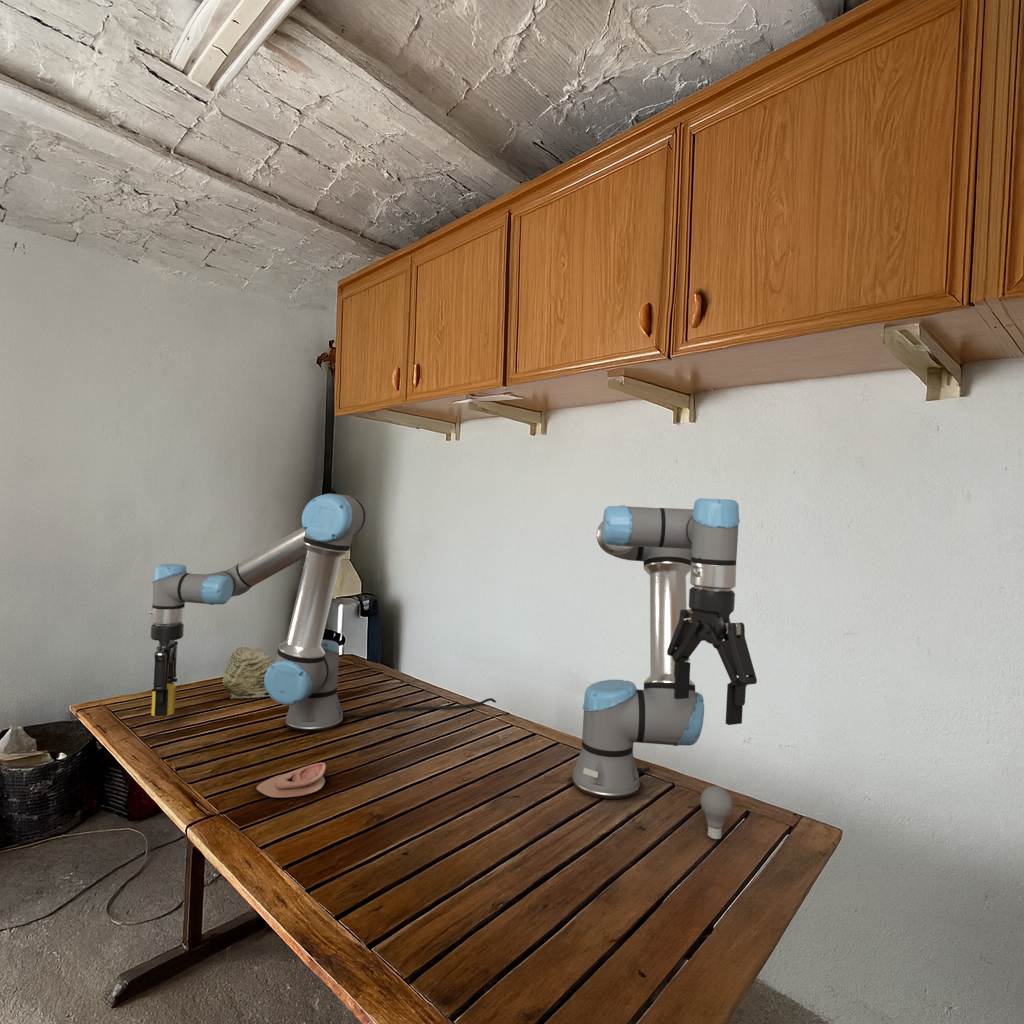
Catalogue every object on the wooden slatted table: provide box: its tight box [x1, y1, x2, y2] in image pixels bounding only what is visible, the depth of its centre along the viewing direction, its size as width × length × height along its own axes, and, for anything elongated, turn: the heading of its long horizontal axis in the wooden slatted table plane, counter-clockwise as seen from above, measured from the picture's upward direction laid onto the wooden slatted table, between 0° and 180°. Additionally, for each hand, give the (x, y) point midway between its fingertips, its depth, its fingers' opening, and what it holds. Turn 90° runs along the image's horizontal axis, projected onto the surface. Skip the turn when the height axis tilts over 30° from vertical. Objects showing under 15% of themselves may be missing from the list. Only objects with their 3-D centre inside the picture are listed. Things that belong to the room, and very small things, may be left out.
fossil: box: [222, 646, 275, 699], centre depth 198 cm, size 9×18×15 cm, turn 132°
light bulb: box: [699, 785, 734, 840], centre depth 124 cm, size 6×6×10 cm
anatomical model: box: [256, 762, 327, 799], centre depth 137 cm, size 13×4×12 cm
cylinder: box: [150, 683, 177, 718], centre depth 166 cm, size 5×5×7 cm
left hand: (163, 711), depth 166 cm, fingers closed on cylinder, 5 cm apart
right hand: (706, 710), depth 110 cm, fingers open, 13 cm apart
